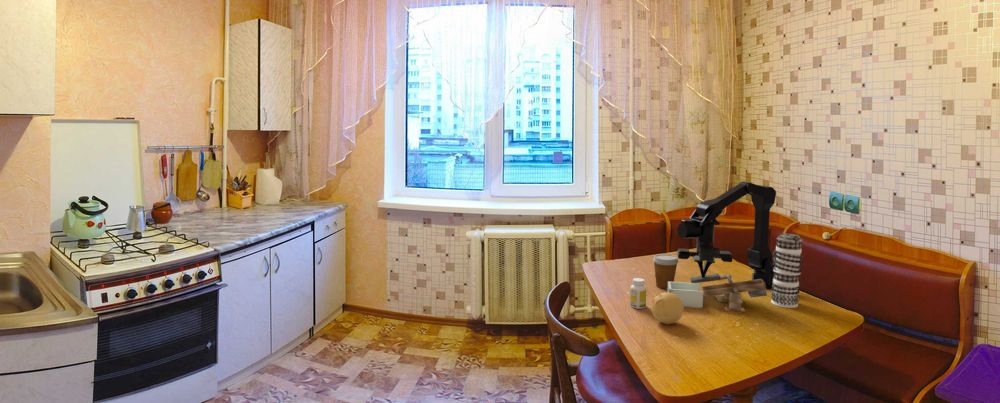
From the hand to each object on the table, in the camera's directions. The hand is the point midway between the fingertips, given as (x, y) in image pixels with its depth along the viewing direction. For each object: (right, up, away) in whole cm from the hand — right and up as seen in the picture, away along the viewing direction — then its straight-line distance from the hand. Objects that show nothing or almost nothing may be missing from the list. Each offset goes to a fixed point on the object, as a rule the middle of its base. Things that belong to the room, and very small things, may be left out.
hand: (702, 277), depth 189 cm
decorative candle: (+24, -8, -11) cm, 28 cm away
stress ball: (-23, -11, -27) cm, 37 cm away
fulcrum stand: (+6, -8, -11) cm, 15 cm away
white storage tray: (-10, -8, -9) cm, 15 cm away
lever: (+6, -4, -9) cm, 11 cm away
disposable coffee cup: (-11, -5, +9) cm, 16 cm away
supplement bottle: (-28, -9, -12) cm, 31 cm away
